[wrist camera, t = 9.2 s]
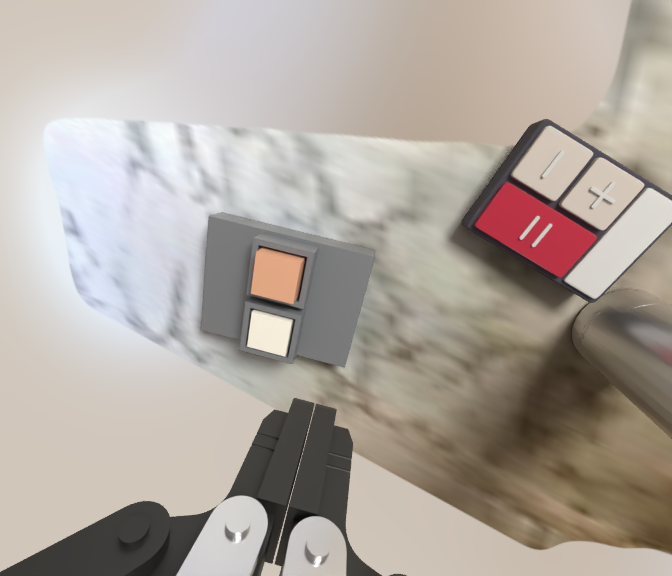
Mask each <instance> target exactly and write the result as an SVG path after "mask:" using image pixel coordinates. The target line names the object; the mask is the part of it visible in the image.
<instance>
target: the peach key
mask: <svg viewBox="0 0 672 576" xmlns="http://www.w3.org/2000/svg"><path fill="white" fill-rule="evenodd" d="M305 261H306V257H305V256H301V255H297V254H293V253H289V252H285V251H281V250H277V249H273V248H269V247H265V246H264V247H263V248H261V249H260V250H258V251H257V252H256V257H255V265H254V272H253V280H252V288H251V294H254V295H258V296H262V297H266V298H270V299H274V300H278V301H282V302H285V303H289V304H294V302H295V301H296V299H297V298H298V296H299V292H300V287H301V282H302V277H303V272H304V266H305Z"/></svg>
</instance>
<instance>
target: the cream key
mask: <svg viewBox="0 0 672 576" xmlns="http://www.w3.org/2000/svg"><path fill="white" fill-rule="evenodd" d="M294 325H295V319H292V318H288V317H284V316H280V315H277V314H273V313H269V312H265V311H261V310H257V309H254V310H253V311H252V314H251V321H250V329H249V336H248V344H247V347H250V348H254V349H258V350H262V351H266V352H269V353H273V354H277V355H281V356H286V354H287V352H288V350H289V348H290V345H291V340H292V335H293V330H294Z"/></svg>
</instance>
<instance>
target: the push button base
mask: <svg viewBox="0 0 672 576" xmlns="http://www.w3.org/2000/svg"><path fill="white" fill-rule="evenodd" d="M264 246H265V247H269V248H273V249H277V250H281V251H285V252H289V253H293V254H297V255H301V256H305V257H306V261H305V266H304V272H303V277H302V282H301V287H300V292H299V296H298V298H297V299H296V301H295V302H294V304H289V303H285V302H282V301H278V300H274V299H270V298H266V297H262V296H258V295H254V294H251V288H252V280H253V272H254V265H255V257H256V252H257V251H258V250H260V249H261V248H263V247H264ZM374 259H375V250H373V249H369V248H365V247H361V246H357V245H353V244H349V243H344V242H340V241H336V240H332V239H328V238H324V237H320V236H316V235H312V234H308V233H304V232H300V231H296V230H292V229H288V228H283V227H279V226H275V225H271V224H267V223H263V222H259V221H255V220H251V219H247V218H243V217H239V216H235V215H231V214H226V213H222V212H221V213H218V214H214V215H210V216H209V220H208V234H207V249H206V263H205V277H204V291H203V306H202V320H201V330H203V331H207V332H211V333H215V334H218V335H222V336H226V337H230V338H234V339H237V340H241V341H240V349H239V350H240V351H244V352H248V353H252V354H256V355H259V356H263V357H267V358H271V359H275V360H279V361H282V362H286V363H290V364H293V361H294V359H295V357H296V355H299V356H303V357H306V358H310V359H314V360H318V361H322V362H325V363H329V364H333V365H337V366H341V367H345V365H346V361H347V357H348V354H349V350H350V346H351V343H352V339H353V335H354V332H355V328H356V325H357V321H358V317H359V314H360V310H361V306H362V303H363V299H364V295H365V292H366V288H367V284H368V281H369V277H370V273H371V270H372V266H373V262H374ZM254 309H257V310H261V311H265V312H269V313H273V314H277V315H280V316H284V317H288V318H292V319H295V325H294V330H293V335H292V340H291V345H290V348H289V350H288V352H287V354H286V356H281V355H277V354H273V353H269V352H266V351H262V350H258V349H254V348H250V347H247V344H248V336H249V329H250V321H251V314H252V311H253V310H254Z"/></svg>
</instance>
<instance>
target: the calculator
mask: <svg viewBox="0 0 672 576" xmlns="http://www.w3.org/2000/svg"><path fill="white" fill-rule="evenodd" d="M462 225H463V226H465V227H466V228H468V229H469V230H471V231H472V232H474V233H476V234H477V235H479V236H481V237H482V238H484V239H485V240H487V241H489V242H490V243H492V244H494V245H495V246H497V247H499V248H500V249H502V250H504V251H505V252H507V253H509V254H510V255H512V256H514V257H515V258H517V259H519V260H520V261H522V262H523V263H525V264H527V265H528V266H530V267H532V268H533V269H535V270H537V271H538V272H540V273H542V274H543V275H545V276H547V277H548V278H550V279H552V280H553V281H555V282H557V283H558V284H560V285H561V286H563V287H565V288H566V289H568V290H570V291H571V292H573V293H575V294H576V295H578V296H580V297H581V298H583V299H585V300H586V301H588V302H590V303H594V302H596V301H597V300H598V299H599V298H600V297H601V296H602V295H603V294H604V293H605V292H606V291H607V290H608V289H609V288H610V287H611V286H612V285H613V284H614V283H615V282H616V281H617V280H618V279H619V278H620V277H621V276H622V275H623V274H624V273H625V272H626V271H627V270H628V269H629V268H630V267H631V266H632V265H633V264H634V263H635V262H636V261H637V260H638V259H639V258H640V257H641V256H642V255H643V254H644V253H645V252H646V251H647V250H648V249H649V248H650V247H651V246H652V245H653V244H654V243H655V241H656V240H657V239H658V238H659V237H660V236H661V235H662V234H663V233H664V232H665V231H666V230H667V229H668V228H669V227H670V226H671V225H672V195H670V194H669V193H667V192H666V191H664V190H662V189H661V188H659V187H658V186H656V185H654V184H653V183H651V182H649V181H648V180H646V179H645V178H643V177H641V176H640V175H638V174H636V173H635V172H633V171H632V170H630V169H628V168H627V167H625V166H623V165H622V164H620V163H619V162H617V161H615V160H614V159H612V158H611V157H609V156H607V155H606V154H604V153H602V152H601V151H599V150H598V149H596V148H594V147H593V146H591V145H589V144H588V143H586V142H585V141H583V140H581V139H580V138H578V137H576V136H575V135H573V134H572V133H570V132H568V131H567V130H565V129H564V128H562V127H560V126H559V125H557V124H555V123H554V122H552V121H551V120H548V119H544V120H542V121H539V122H536V123H534V124H531V125H530V126H529V127H528V128H527V130H526V131H525V132H524V134H523V135H522V137H521V138H520V140H519V141H518V142H517V144H516V145H515V147H514V149H513V150H512V152H511V153H510V154H509V156H508V157H507V158H506V160H505V161H504V163H503V164H502V165H501V167H500V168H499V170H498V171H497V172H496V174H495V175H494V177H493V178H492V179H491V181H490V182H489V184H488V185H487V186H486V188H485V189H484V191H483V192H482V193H481V195H480V196H479V198H478V199H477V200H476V202H475V203H474V205H473V206H472V207H471V209H470V210H469V212H468V213H467V214H466V216H465V217H464V219H463V220H462Z"/></svg>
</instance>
